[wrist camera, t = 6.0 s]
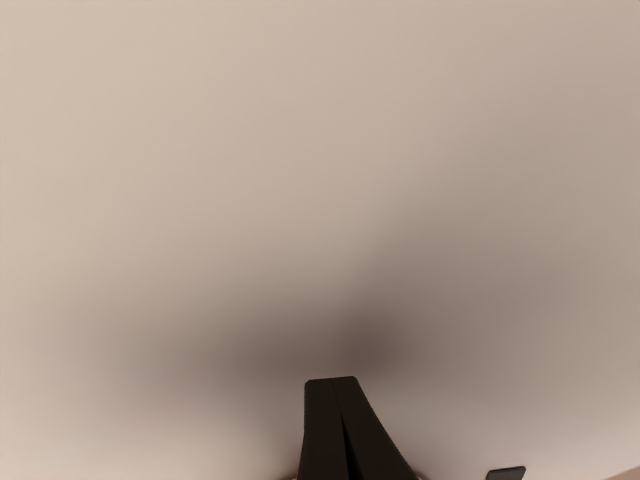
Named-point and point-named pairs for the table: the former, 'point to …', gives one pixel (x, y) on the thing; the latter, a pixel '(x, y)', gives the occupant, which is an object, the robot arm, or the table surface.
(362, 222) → the table surface
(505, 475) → the tape marks
